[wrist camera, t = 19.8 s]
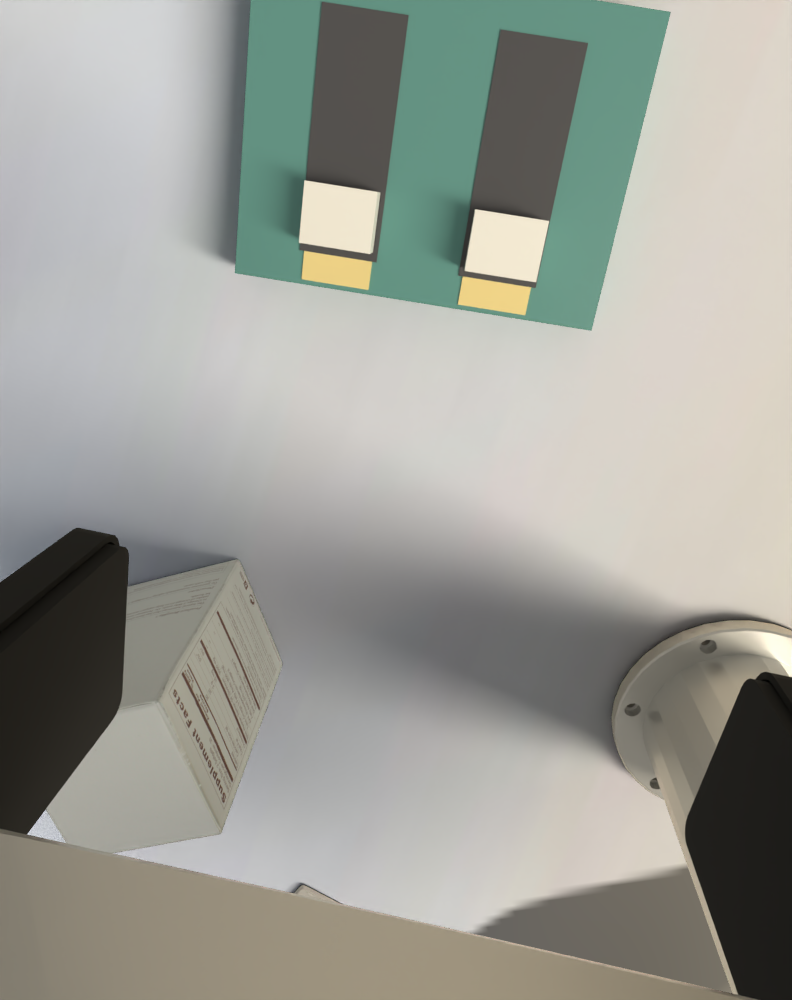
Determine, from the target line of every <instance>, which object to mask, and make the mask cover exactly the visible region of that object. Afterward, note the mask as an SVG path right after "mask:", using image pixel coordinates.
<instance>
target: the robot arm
mask: <svg viewBox="0 0 792 1000" xmlns="http://www.w3.org/2000/svg"><path fill="white" fill-rule="evenodd" d="M128 564H129V553H128V550H127V549H126V547H121V546H119V542H118V538H117V537H116V536H115V535H110V534H105V533H101V532H96V531H91V530H86V529H81V528H76V529H74V530H72V531H70V532H69V533H68V534H66V535H65V536H64V537H62V538H61V539H59V540H58V541H57V542H55V543H54V544H53V545H51V546H50V547H48V548H47V549H46V550H44V551H43V552H42V553H40V554H39V555H37V556H36V557H35V558H33V559H32V560H31V561H29V562H28V563H26V564H25V565H24V566H22V567H21V568H20V569H18V570H17V571H15V572H14V573H13V574H11V575H10V576H9V577H7V578H6V579H4V580H3V581H2V582H0V1000H792V630H789V629H786V628H783V627H781V626H778V625H775V624H770V623H764V622H758V621H752V620H728V621H721V622H715V623H708V624H704V625H700V626H697V627H694V628H691V629H688V630H685V631H682V632H680V633H678V634H676V635H674V636H672V637H670V638H668V639H666V640H664V641H662V642H661V643H659V644H658V645H657V646H655V647H654V648H653V649H651V650H650V651H648V652H647V653H646V654H645V655H644V656H643V657H642V658H641V659H640V660H639V661H638V662H637V663H636V664H635V665H634V666H633V667H632V668H631V669H630V671H629V672H628V674H627V675H626V677H625V678H624V680H623V681H622V683H621V684H620V687H619V690H618V692H617V695H616V697H615V700H614V704H613V711H612V718H611V720H612V730H613V737H614V740H615V743H616V747H617V751H618V754H619V756H620V758H621V760H622V762H623V764H624V766H625V768H626V769H627V770H628V772H629V773H630V774H631V775H632V776H633V778H634V779H635V780H636V781H637V782H638V783H639V784H640V785H641V786H643V787H644V788H645V789H646V790H647V791H649V792H650V793H652V794H654V795H656V796H658V797H660V798H661V799H663V800H664V801H665V803H666V806H667V809H668V812H669V815H670V818H671V820H672V823H673V826H674V829H675V832H676V835H677V837H678V840H679V843H680V846H681V849H682V852H683V854H684V857H685V860H686V863H687V866H688V869H689V871H690V874H691V877H692V880H693V883H694V886H695V888H696V891H697V894H698V897H699V900H700V902H701V905H702V908H703V911H704V914H705V917H706V920H707V922H708V925H709V928H710V931H711V934H712V937H713V939H714V942H715V945H716V948H717V951H718V954H719V957H720V959H721V962H722V965H723V968H724V970H725V974H726V976H727V979H728V982H729V985H730V988H731V990H732V993H733V994H732V993H728V992H723V991H719V990H715V989H711V988H706V987H702V986H698V985H693V984H689V983H684V982H680V981H676V980H672V979H667V978H663V977H659V976H655V975H650V974H646V973H642V972H637V971H633V970H629V969H624V968H620V967H616V966H611V965H607V964H603V963H598V962H594V961H590V960H585V959H581V958H576V957H572V956H568V955H563V954H559V953H555V952H551V951H546V950H542V949H537V948H533V947H529V946H525V945H520V944H515V943H511V942H507V941H502V940H498V939H494V938H489V937H485V936H480V935H476V934H472V933H467V932H463V931H458V930H454V929H450V928H445V927H441V926H436V925H432V924H428V923H423V922H419V921H414V920H410V919H406V918H401V917H397V916H392V915H388V914H383V913H379V912H374V911H370V910H365V909H361V908H357V907H352V906H348V905H343V904H339V903H334V902H330V901H325V900H321V899H317V898H312V897H308V896H303V895H299V894H294V893H290V892H285V891H281V890H276V889H272V888H267V887H263V886H258V885H254V884H249V883H244V882H240V881H235V880H231V879H226V878H222V877H217V876H213V875H208V874H204V873H199V872H194V871H190V870H185V869H181V868H176V867H172V866H167V865H163V864H158V863H154V862H149V861H144V860H140V859H135V858H131V857H126V856H122V855H117V854H113V853H108V852H104V851H99V850H94V849H90V848H85V847H81V846H76V845H72V844H67V843H63V842H58V841H54V840H49V839H44V838H40V837H35V836H31V835H27V833H28V832H29V831H30V829H31V828H32V827H33V825H34V824H35V823H36V821H37V820H38V819H39V817H40V816H41V815H42V813H43V812H44V811H45V809H46V808H47V807H48V805H49V804H50V803H51V801H52V800H53V799H54V798H55V796H56V795H57V794H58V792H59V791H60V790H61V788H62V787H63V786H64V784H65V783H66V782H67V780H68V779H69V778H70V776H71V775H72V774H73V772H74V771H75V770H76V768H77V767H78V766H79V764H80V763H81V762H82V760H83V759H84V758H85V756H86V755H87V754H88V752H89V751H90V750H91V748H92V747H93V746H94V744H95V743H96V742H97V740H98V739H99V738H100V736H101V735H102V734H103V732H104V731H105V730H106V728H107V727H108V726H109V724H110V723H111V722H112V720H113V719H114V717H115V716H116V714H117V711H118V709H119V706H120V703H121V699H122V691H123V670H124V649H125V628H126V607H127V585H128Z"/></svg>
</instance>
